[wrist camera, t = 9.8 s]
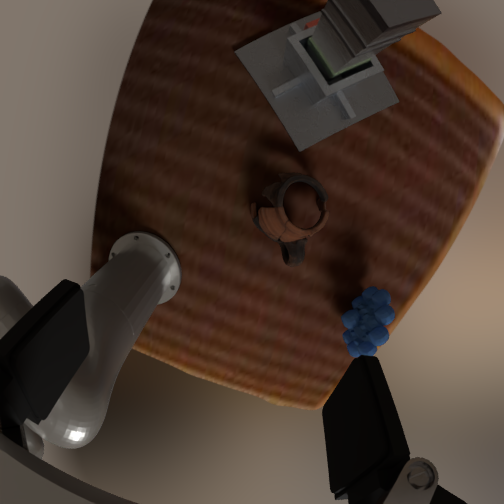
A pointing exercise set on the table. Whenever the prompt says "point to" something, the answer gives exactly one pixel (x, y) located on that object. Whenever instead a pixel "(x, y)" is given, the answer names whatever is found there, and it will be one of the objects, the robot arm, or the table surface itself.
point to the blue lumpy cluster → (368, 322)
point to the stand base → (312, 85)
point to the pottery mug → (278, 223)
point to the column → (362, 31)
